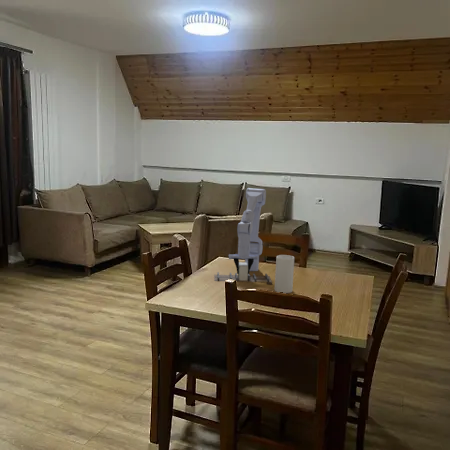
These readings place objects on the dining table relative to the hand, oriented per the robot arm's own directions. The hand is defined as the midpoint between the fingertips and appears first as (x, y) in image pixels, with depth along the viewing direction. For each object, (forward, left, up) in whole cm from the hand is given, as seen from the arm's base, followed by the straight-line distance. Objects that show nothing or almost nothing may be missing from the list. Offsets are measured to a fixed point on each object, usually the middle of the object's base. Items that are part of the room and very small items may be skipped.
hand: (242, 273), depth 225 cm
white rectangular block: (0, 0, -2) cm, 2 cm away
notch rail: (0, 0, -3) cm, 3 cm away
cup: (+15, +18, -4) cm, 23 cm away
